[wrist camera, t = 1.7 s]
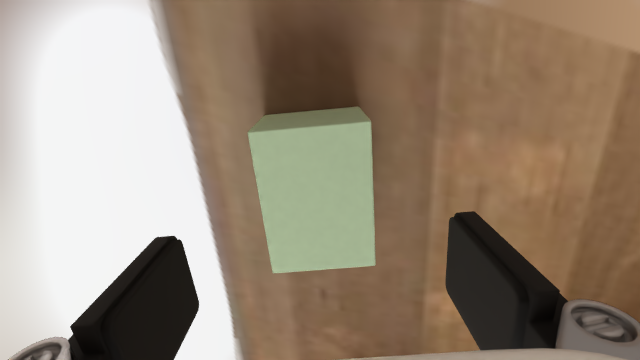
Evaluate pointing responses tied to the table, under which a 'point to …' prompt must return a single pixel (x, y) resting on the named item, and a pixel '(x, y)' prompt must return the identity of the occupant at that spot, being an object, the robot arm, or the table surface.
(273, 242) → the pale green rectangular block
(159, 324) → the robot arm
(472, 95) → the table surface
